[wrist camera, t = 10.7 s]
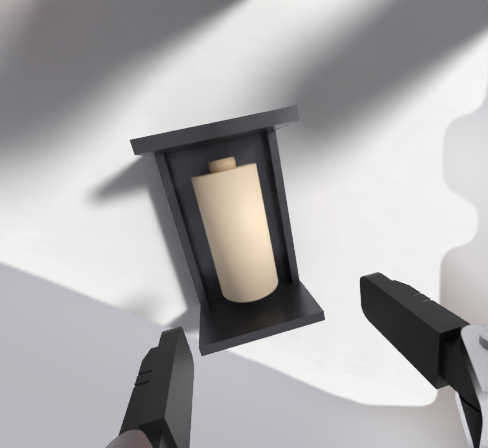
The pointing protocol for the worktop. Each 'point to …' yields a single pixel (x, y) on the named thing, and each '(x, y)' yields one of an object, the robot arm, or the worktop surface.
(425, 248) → the worktop surface
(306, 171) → the worktop surface
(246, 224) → the cylinder
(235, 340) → the roll holder
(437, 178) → the worktop surface
